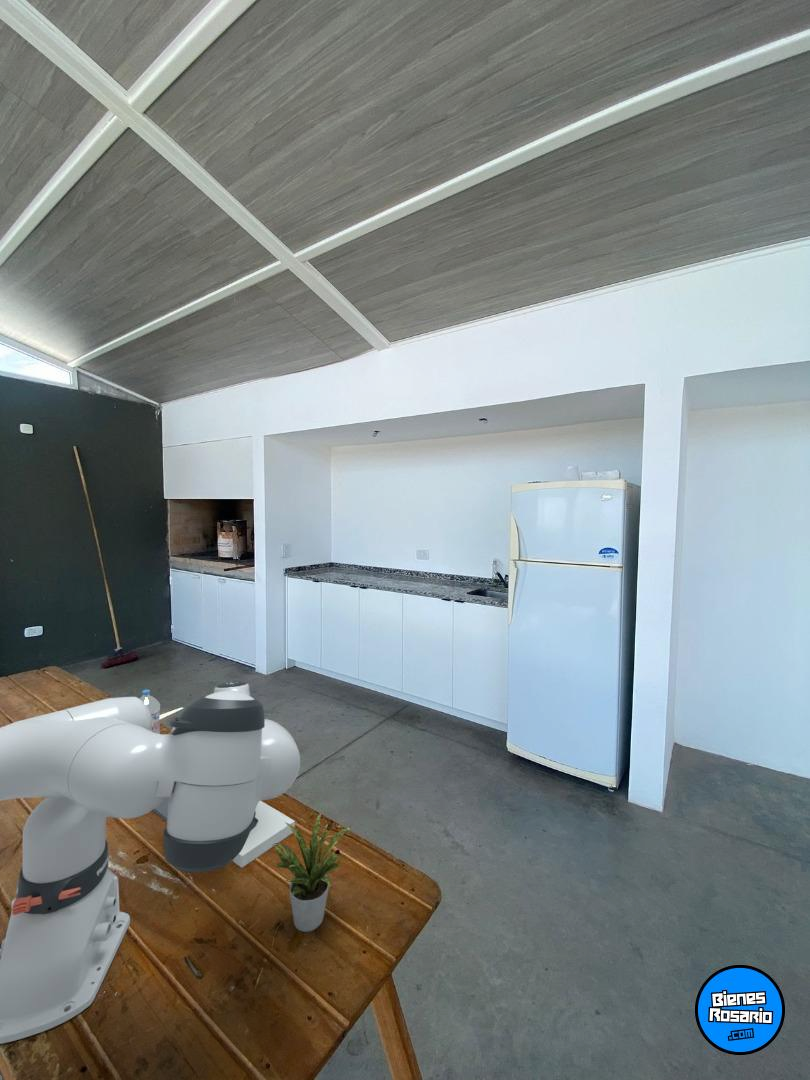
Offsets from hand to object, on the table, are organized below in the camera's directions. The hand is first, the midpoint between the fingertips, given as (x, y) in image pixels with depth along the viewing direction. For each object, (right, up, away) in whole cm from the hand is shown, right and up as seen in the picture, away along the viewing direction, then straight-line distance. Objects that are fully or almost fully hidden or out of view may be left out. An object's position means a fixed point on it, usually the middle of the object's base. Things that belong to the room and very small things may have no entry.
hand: (229, 807), depth 107 cm
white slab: (+5, -4, -3) cm, 7 cm away
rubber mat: (-9, -3, +6) cm, 12 cm away
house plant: (+25, -5, -25) cm, 35 cm away
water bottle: (-29, -2, +15) cm, 33 cm away
